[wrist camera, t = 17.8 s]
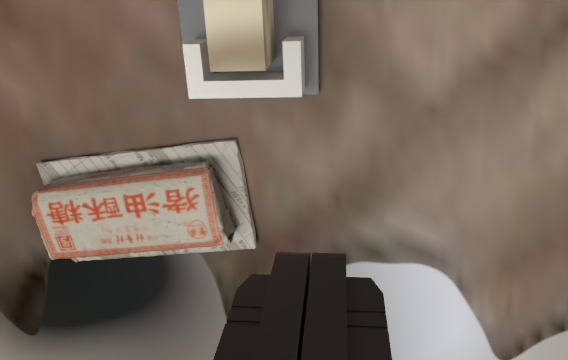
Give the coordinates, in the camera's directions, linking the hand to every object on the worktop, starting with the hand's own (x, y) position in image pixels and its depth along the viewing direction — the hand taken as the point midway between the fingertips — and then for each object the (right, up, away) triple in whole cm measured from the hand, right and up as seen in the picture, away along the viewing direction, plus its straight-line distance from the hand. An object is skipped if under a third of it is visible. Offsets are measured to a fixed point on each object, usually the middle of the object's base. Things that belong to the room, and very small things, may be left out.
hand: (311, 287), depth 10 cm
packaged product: (-12, +1, +32) cm, 34 cm away
